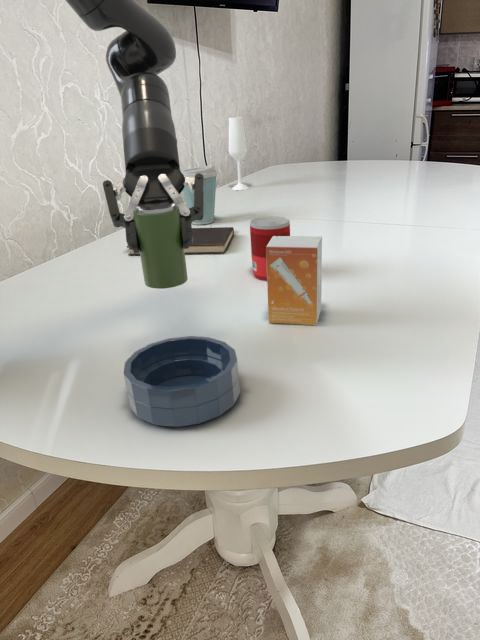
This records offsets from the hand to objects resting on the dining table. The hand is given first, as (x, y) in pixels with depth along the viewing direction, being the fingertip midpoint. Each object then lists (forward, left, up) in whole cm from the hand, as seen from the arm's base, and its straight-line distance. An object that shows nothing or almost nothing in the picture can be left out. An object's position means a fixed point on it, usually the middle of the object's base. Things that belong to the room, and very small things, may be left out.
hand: (161, 247), depth 70 cm
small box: (+20, +9, -16) cm, 27 cm away
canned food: (+20, +31, -16) cm, 40 cm away
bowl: (+1, -12, -16) cm, 20 cm away
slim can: (0, +2, -5) cm, 6 cm away
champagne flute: (+26, +128, -16) cm, 131 cm away
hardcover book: (+3, +59, -16) cm, 61 cm away
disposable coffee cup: (+9, +81, -16) cm, 83 cm away
